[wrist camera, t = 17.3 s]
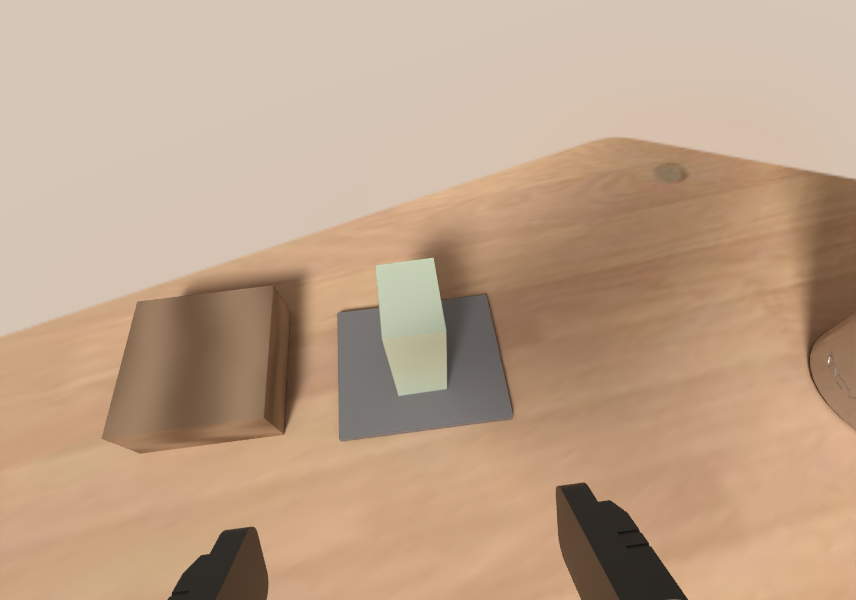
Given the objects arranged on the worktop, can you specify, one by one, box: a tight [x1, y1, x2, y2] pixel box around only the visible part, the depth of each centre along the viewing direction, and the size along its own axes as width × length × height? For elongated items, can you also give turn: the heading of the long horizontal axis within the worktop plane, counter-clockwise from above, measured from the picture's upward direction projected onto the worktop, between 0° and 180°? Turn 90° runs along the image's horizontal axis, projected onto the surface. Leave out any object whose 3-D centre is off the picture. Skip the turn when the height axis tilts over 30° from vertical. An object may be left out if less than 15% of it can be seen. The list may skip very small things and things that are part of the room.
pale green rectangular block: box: [376, 258, 447, 396], centre depth 29 cm, size 4×5×9 cm
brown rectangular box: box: [102, 285, 290, 453], centre depth 32 cm, size 10×10×4 cm
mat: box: [337, 294, 513, 441], centre depth 33 cm, size 12×10×1 cm
